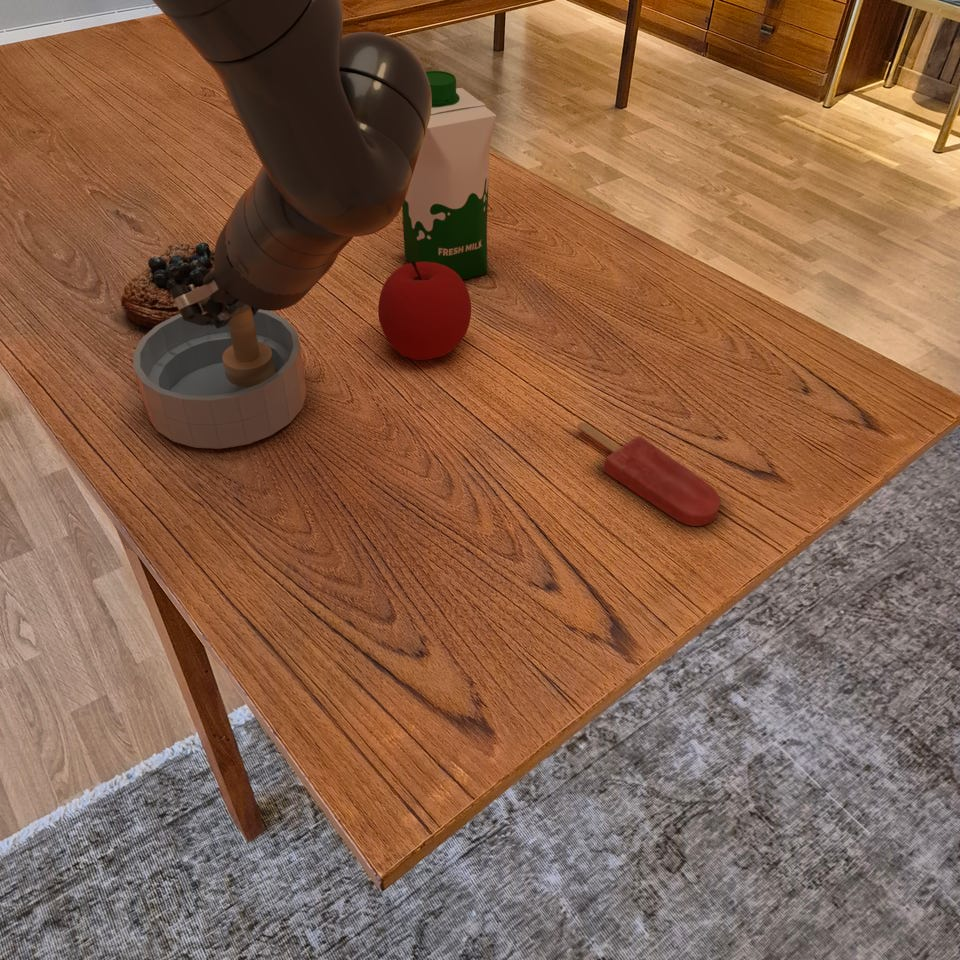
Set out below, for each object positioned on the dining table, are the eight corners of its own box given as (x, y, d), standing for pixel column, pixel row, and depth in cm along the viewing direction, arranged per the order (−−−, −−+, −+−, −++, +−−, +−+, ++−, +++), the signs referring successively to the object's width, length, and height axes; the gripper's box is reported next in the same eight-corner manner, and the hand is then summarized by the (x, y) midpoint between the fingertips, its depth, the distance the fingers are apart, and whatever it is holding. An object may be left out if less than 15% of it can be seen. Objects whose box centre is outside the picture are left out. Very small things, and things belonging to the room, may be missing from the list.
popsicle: (597, 405, 80) (732, 496, 73) (594, 420, 82) (727, 510, 74) (562, 427, 78) (699, 522, 70) (560, 441, 79) (694, 537, 72)
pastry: (267, 287, 97) (259, 238, 93) (210, 348, 88) (199, 297, 84) (177, 269, 99) (166, 220, 95) (114, 327, 91) (98, 276, 86)
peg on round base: (237, 393, 79) (212, 273, 71) (218, 367, 81) (192, 249, 73) (283, 377, 81) (263, 259, 72) (263, 353, 83) (242, 236, 75)
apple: (454, 381, 85) (455, 291, 78) (366, 364, 87) (359, 274, 80) (480, 329, 92) (483, 241, 85) (398, 314, 93) (393, 227, 87)
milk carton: (462, 240, 105) (464, 63, 91) (498, 277, 99) (507, 94, 85) (394, 256, 102) (385, 76, 88) (427, 295, 96) (424, 109, 82)
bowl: (182, 475, 75) (166, 420, 71) (128, 387, 84) (111, 333, 79) (333, 418, 81) (326, 364, 77) (268, 341, 89) (259, 289, 85)
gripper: (340, 168, 66) (280, 249, 81) (163, 220, 60) (134, 298, 75) (383, 261, 67) (316, 324, 82) (213, 323, 60) (174, 379, 76)
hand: (229, 311), depth 78 cm, fingers closed on peg on round base, 2 cm apart
